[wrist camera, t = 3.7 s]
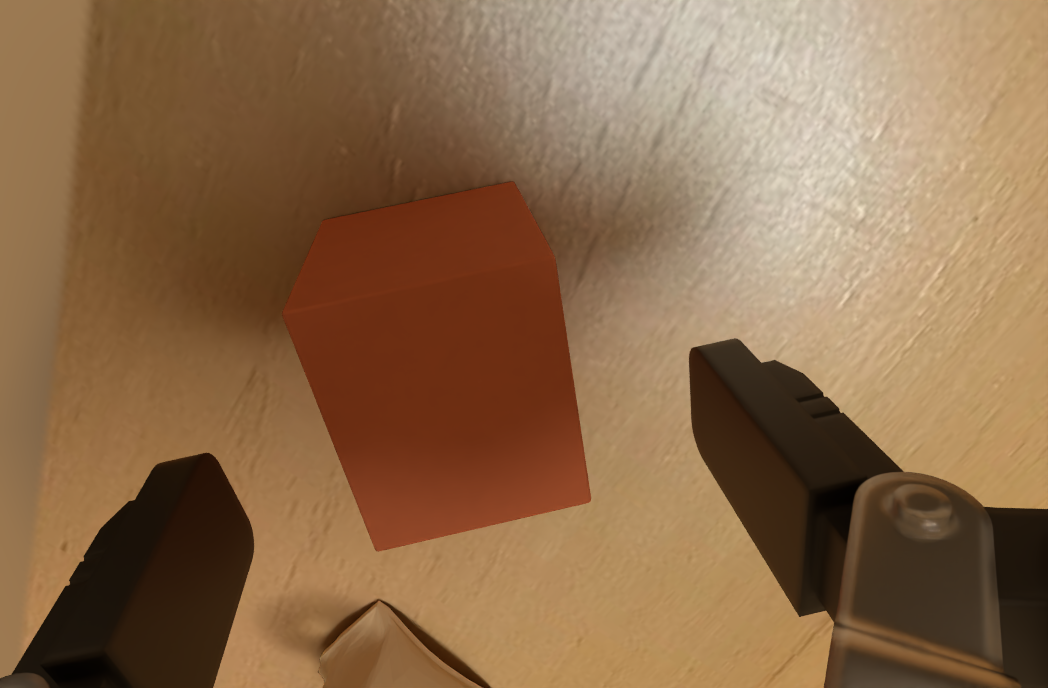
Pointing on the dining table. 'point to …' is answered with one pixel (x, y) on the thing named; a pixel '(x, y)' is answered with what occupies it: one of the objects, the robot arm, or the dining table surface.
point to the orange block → (441, 364)
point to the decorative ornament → (384, 657)
